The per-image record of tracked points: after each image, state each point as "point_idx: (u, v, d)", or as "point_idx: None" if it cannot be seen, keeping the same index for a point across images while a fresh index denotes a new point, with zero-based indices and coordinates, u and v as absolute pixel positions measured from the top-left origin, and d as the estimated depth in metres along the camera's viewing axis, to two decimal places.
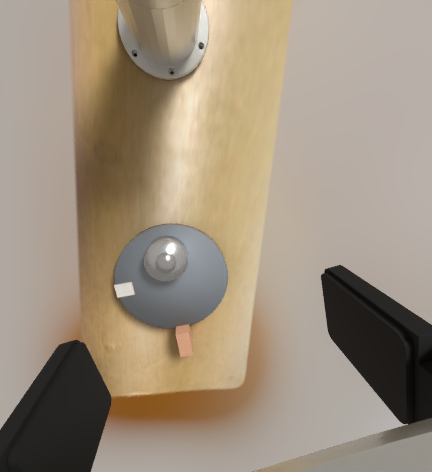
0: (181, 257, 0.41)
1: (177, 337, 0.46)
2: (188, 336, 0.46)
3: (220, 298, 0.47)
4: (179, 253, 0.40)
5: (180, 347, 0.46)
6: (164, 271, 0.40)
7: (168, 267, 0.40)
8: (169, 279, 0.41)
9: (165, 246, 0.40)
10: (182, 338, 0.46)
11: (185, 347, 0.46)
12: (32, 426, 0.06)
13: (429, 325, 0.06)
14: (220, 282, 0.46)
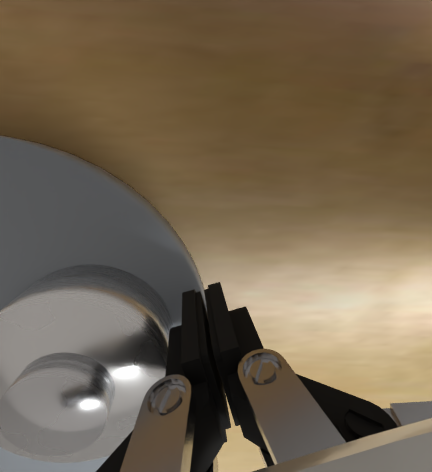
0: (102, 438, 0.10)
1: None
2: None
3: None
4: (119, 429, 0.09)
5: None
6: (8, 420, 0.08)
7: (40, 431, 0.08)
8: None
9: (143, 379, 0.09)
10: None
11: None
12: (204, 340, 0.07)
13: (235, 342, 0.07)
14: None
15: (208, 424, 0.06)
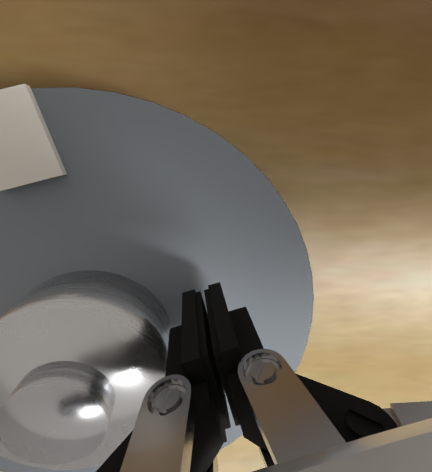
0: (104, 444, 0.09)
1: None
2: None
3: None
4: (121, 434, 0.09)
5: None
6: (7, 430, 0.08)
7: (40, 441, 0.08)
8: None
9: (142, 384, 0.09)
10: None
11: None
12: (204, 340, 0.07)
13: (235, 342, 0.07)
14: None
15: (208, 424, 0.06)
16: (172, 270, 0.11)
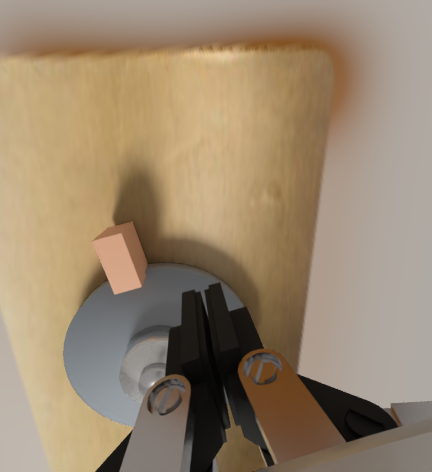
0: (132, 387, 0.24)
1: (137, 281, 0.21)
2: (113, 285, 0.21)
3: (69, 338, 0.25)
4: (137, 392, 0.24)
5: (126, 257, 0.21)
6: (156, 373, 0.22)
7: (150, 382, 0.22)
8: (146, 349, 0.23)
9: None
10: (125, 280, 0.21)
11: (114, 257, 0.21)
12: (203, 340, 0.07)
13: (235, 342, 0.07)
14: (78, 365, 0.26)
15: (207, 424, 0.06)
16: None
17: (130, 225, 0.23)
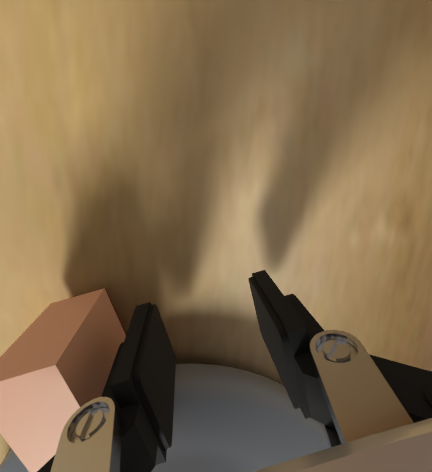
0: None
1: None
2: None
3: None
4: None
5: None
6: None
7: None
8: None
9: None
10: None
11: (41, 424, 0.07)
12: (142, 359, 0.07)
13: (302, 323, 0.07)
14: None
15: (134, 448, 0.06)
16: None
17: (97, 305, 0.10)
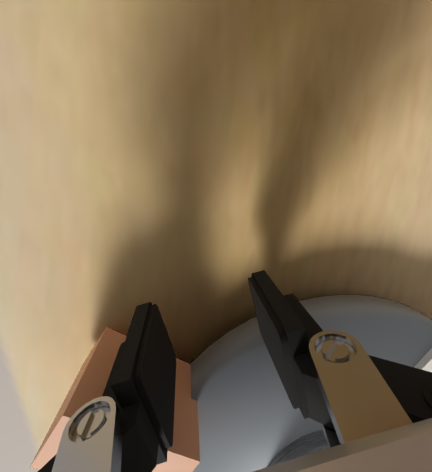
0: None
1: (182, 461, 0.09)
2: None
3: None
4: None
5: None
6: None
7: None
8: None
9: None
10: None
11: None
12: (143, 359, 0.07)
13: (301, 323, 0.07)
14: None
15: (135, 448, 0.06)
16: None
17: (102, 344, 0.11)
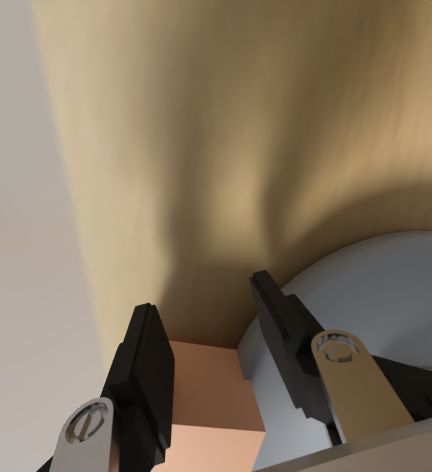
0: None
1: (249, 435, 0.09)
2: None
3: None
4: None
5: (188, 433, 0.09)
6: None
7: None
8: None
9: None
10: (232, 451, 0.10)
11: (175, 451, 0.09)
12: (141, 360, 0.07)
13: (303, 323, 0.07)
14: None
15: (133, 449, 0.06)
16: None
17: None
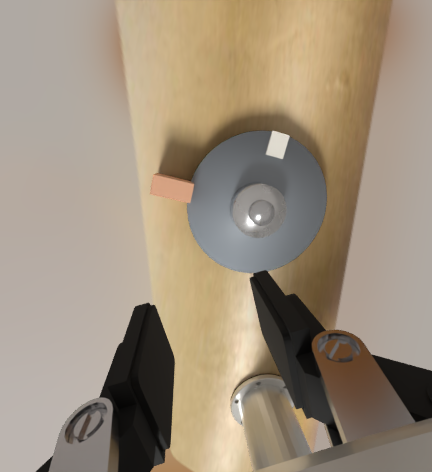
0: (257, 231, 0.33)
1: (189, 185, 0.31)
2: (183, 200, 0.31)
3: (208, 252, 0.36)
4: (263, 230, 0.33)
5: (170, 181, 0.30)
6: (254, 208, 0.31)
7: (257, 215, 0.31)
8: (236, 206, 0.32)
9: (278, 218, 0.33)
10: (184, 190, 0.31)
11: (166, 188, 0.31)
12: (140, 360, 0.07)
13: (303, 323, 0.07)
14: (229, 259, 0.37)
15: (132, 449, 0.06)
16: (288, 199, 0.35)
17: (157, 173, 0.33)
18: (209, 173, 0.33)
